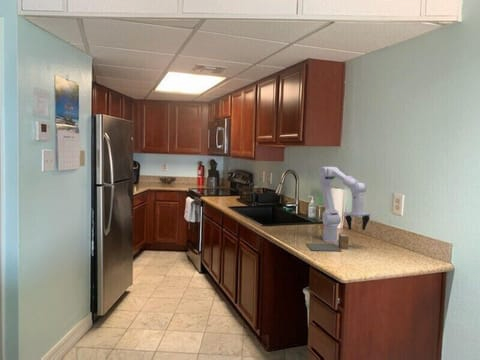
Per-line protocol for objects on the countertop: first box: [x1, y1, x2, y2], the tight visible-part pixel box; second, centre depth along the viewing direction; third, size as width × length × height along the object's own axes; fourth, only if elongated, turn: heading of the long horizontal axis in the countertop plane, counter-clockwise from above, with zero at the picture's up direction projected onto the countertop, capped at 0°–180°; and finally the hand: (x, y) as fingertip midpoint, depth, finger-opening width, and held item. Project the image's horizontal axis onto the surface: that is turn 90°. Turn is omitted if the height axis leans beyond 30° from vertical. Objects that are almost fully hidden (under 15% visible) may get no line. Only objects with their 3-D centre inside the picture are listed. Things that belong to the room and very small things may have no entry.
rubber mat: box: [305, 242, 342, 253], centre depth 205 cm, size 14×16×1 cm
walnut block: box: [337, 232, 350, 250], centre depth 205 cm, size 4×4×8 cm
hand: (356, 229), depth 205 cm, fingers open, 7 cm apart
